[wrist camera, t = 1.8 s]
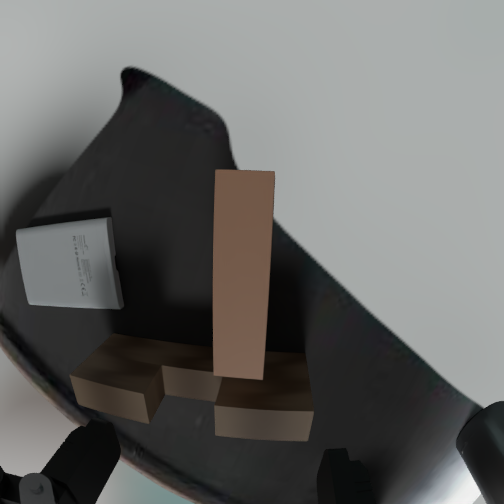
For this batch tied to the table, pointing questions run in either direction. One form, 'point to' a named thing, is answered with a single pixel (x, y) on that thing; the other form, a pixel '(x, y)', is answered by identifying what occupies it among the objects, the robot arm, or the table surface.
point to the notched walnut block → (197, 387)
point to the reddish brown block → (241, 270)
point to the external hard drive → (70, 264)
